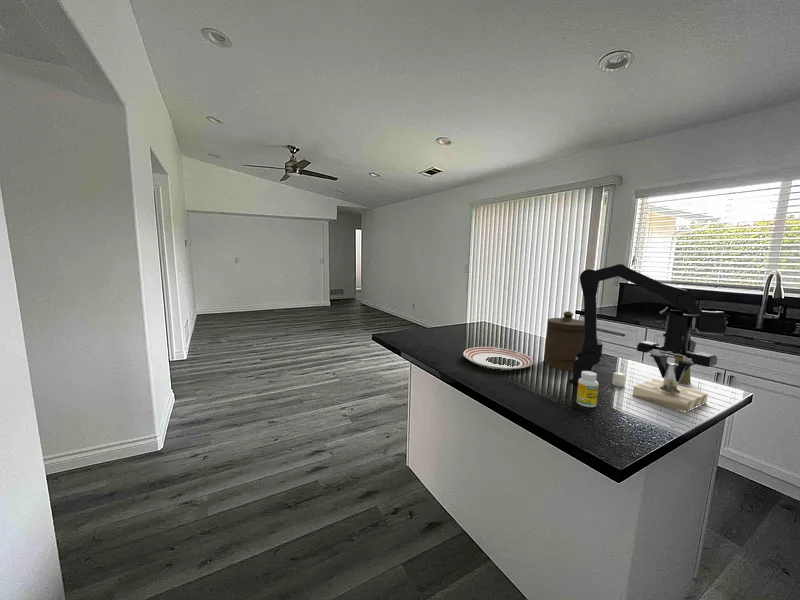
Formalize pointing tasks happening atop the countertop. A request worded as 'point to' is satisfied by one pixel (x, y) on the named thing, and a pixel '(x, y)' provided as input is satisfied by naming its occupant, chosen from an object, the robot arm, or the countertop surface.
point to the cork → (687, 375)
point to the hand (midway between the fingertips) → (670, 379)
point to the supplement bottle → (587, 389)
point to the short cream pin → (618, 379)
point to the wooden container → (563, 341)
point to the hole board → (670, 395)
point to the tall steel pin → (670, 377)
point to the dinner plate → (482, 353)
